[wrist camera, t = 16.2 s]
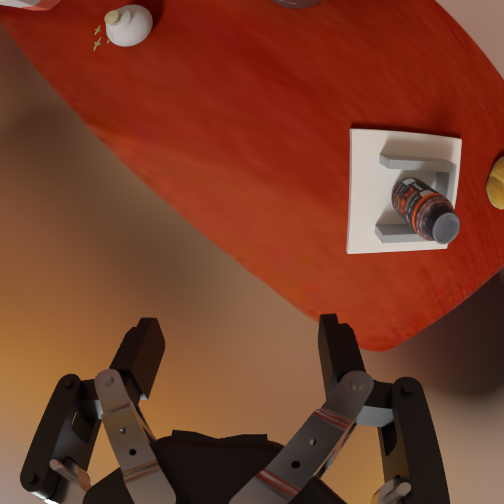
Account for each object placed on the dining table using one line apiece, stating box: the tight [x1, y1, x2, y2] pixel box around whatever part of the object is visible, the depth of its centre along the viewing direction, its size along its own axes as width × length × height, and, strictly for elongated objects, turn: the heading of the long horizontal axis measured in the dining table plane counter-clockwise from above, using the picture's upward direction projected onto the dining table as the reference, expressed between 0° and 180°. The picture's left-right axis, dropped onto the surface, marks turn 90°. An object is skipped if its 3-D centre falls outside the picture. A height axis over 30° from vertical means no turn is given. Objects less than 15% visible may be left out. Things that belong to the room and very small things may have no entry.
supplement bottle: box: [391, 177, 460, 244], centre depth 32 cm, size 6×6×11 cm
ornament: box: [94, 5, 153, 49], centre depth 25 cm, size 6×7×10 cm
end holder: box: [346, 129, 462, 254], centre depth 36 cm, size 18×18×4 cm
